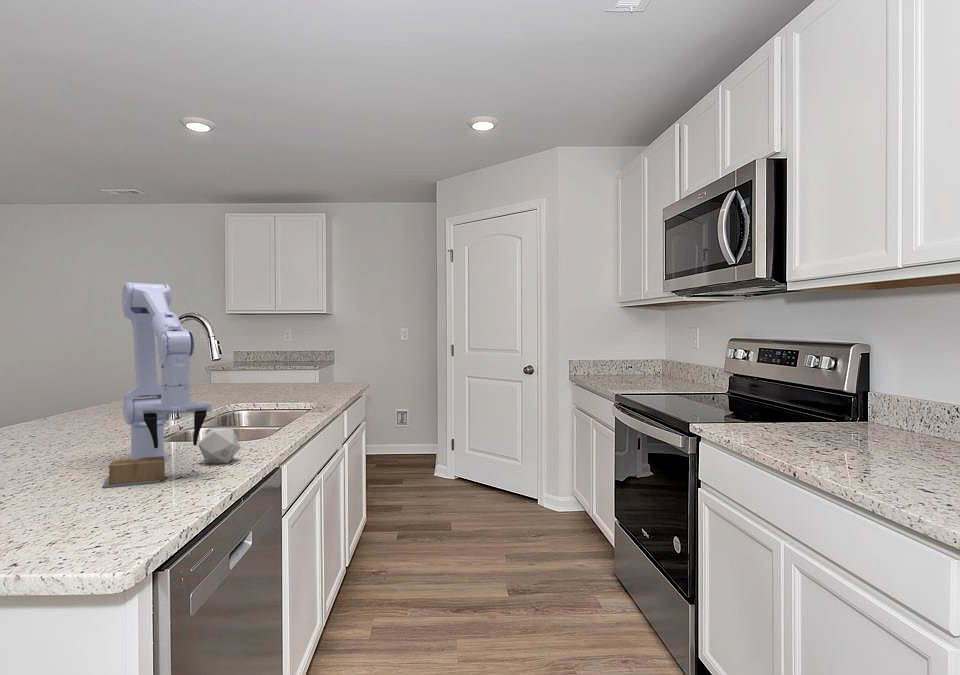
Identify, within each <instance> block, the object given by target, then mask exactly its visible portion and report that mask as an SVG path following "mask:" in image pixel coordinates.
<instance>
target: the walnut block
mask: <svg viewBox="0 0 960 675" xmlns="http://www.w3.org/2000/svg"><path fill="white" fill-rule="evenodd" d="M108 468H109V469H108V470H109V472H108V473H109V474H108V475H109V476H108V477H109V485H115V484H125V483H136V482H146V481H157V480H161V481H164V480H165V461H164V456H157V457H144V458H132V459H130V458H122V459H119V458H118V459H111V462H110V464H109V465H108Z"/></svg>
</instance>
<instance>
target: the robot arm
mask: <svg viewBox="0 0 960 675" xmlns="http://www.w3.org/2000/svg"><path fill="white" fill-rule="evenodd" d="M121 302H122V304H121V305H122V312H123V316H124V318H127V319H128V320H130V321H131V325H132V333H133V334H132V335H133V350H134V352H133V353H134V355H133V356H134V371H135V372H134V373H135V385H134V386H133V387H132V388H130V389H129V390H128V391H126V393H125V394H124V396H123V406H122V415H123V420H124V422H125V423H126V424H127V425H129V426H130V457H129V459H132V458H144V457H157V456H164V462H166V461H167V460H166V459H167V452H166V451H165V425H166V424H167V422H168V421H169V420H170V419H171V417H172V414H188V413H189V414H191V413H193V439H192V440H193V441H192V443H193V444H192V445H193V446H197V445H198V438H199V434H200V432H201V429H202V426H203V424H204V421H205V419H206V418H207V413H213V412H212V411H213V410H212V408H213V403H212V402H191V357H192V356H193V354H194V351H195V337H194V334H193V331H192V330H189V329H185V328H184V327H183V324H182V323H181V321H180V319H179V317H178V315H177V314H176V313H174V312H173V311H171V310H170V305H171V303H172V289H171V287H170V286H169V285H168V284H167V283H163V284H159V283H145V282H144V283H141V282H139V283H138V282H130V281H127V282H125V284H124V285H123V287H122V292H121ZM156 338H157V339H156ZM156 340H157V341H156ZM156 348H157V352H156ZM157 354H158V362H159V365H160V368H161V369H160V371H161V372H160V373H161V374H160V377H161V378H160V383H161V384H158V371H157V370H158V368H157Z"/></svg>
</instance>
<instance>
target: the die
mask: <svg viewBox="0 0 960 675" xmlns="http://www.w3.org/2000/svg"><path fill="white" fill-rule="evenodd" d="M197 445H198V447H199V451H200V452H201V454H202V457H203V459H204V461H205V463H206V464H228V463H229V462H230V461H231V460H232V459H233V458H234V456H236V454H237V453H238V451H240V449H241V444H240V443H239V440H238V437H237V435H236V433H235V431H234V429H233V428H211V429H210V430H208V432H206V434H205V435H204V437H202V438H201V440H199V442H197Z"/></svg>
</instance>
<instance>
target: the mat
mask: <svg viewBox="0 0 960 675" xmlns="http://www.w3.org/2000/svg"><path fill="white" fill-rule="evenodd" d="M105 478H106V479H105V480H104V482H103V484H102V485H101V489H105V488H106V489H108V488H118V487H127V486H128V487H131V486H140V485H150V484H159V483H161V481H162V480H157V481H146V482H136V483H125V484H115V485H109V476H106V477H105Z"/></svg>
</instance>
